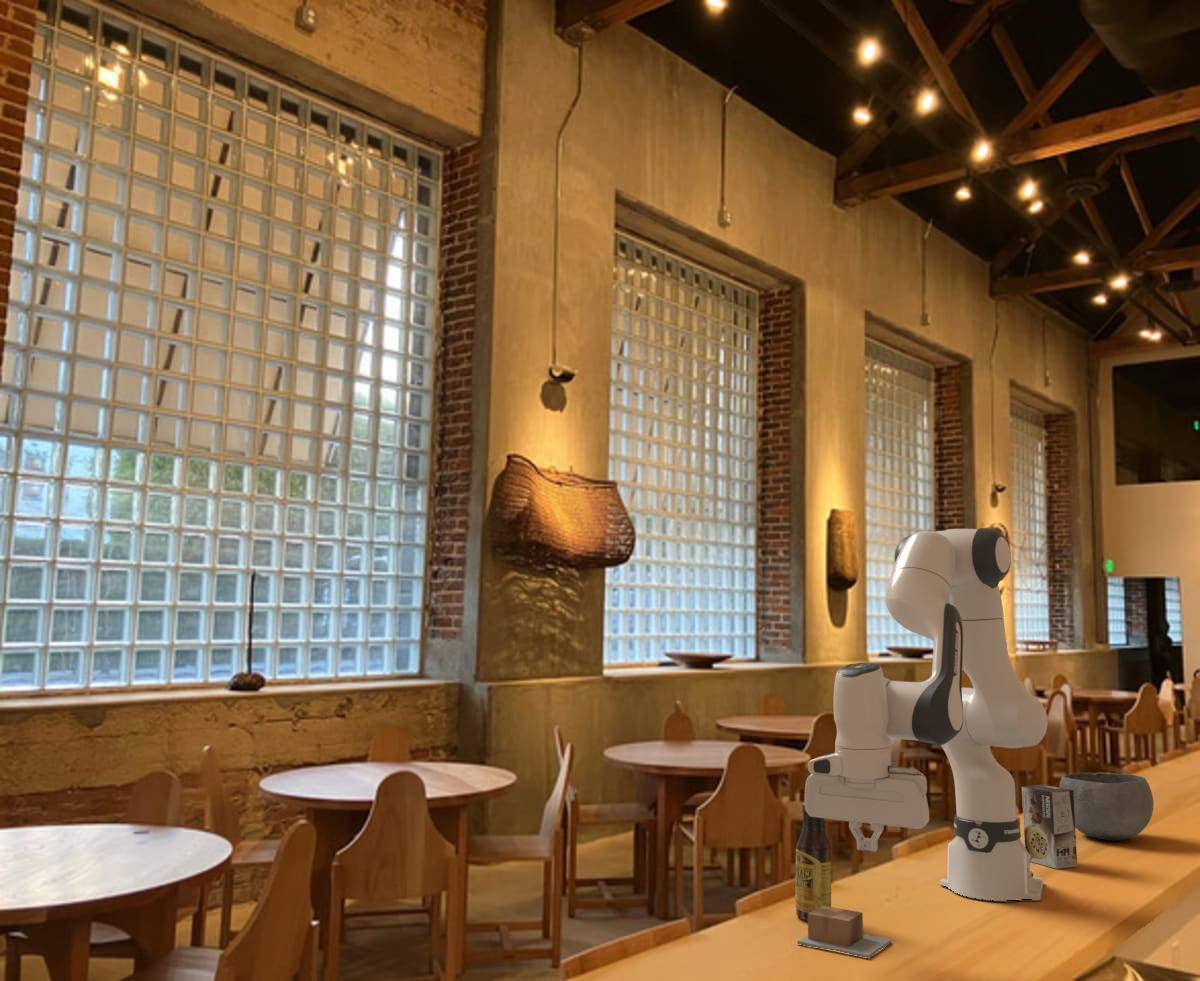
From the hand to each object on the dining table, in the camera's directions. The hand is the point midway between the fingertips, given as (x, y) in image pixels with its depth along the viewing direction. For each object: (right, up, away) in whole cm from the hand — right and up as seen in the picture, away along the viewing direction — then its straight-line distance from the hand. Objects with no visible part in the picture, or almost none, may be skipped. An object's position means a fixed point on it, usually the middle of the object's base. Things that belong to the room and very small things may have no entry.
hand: (867, 850), depth 169 cm
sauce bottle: (-6, -17, +14) cm, 23 cm away
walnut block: (-2, -13, -1) cm, 13 cm away
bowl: (+80, -26, +82) cm, 117 cm away
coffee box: (+55, -23, +56) cm, 82 cm away
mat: (-4, -15, 0) cm, 16 cm away
